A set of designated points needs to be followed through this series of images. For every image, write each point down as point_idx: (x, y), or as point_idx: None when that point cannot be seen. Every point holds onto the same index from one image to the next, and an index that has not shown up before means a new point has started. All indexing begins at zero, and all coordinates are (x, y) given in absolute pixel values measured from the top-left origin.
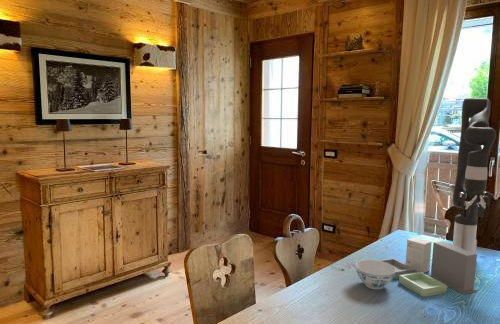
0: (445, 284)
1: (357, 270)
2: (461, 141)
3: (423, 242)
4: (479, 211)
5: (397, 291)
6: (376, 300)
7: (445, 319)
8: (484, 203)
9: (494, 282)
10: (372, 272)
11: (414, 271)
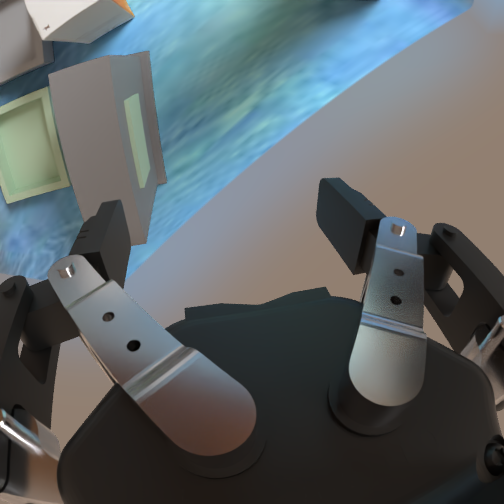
0: (68, 181)
1: None
2: None
3: (53, 13)
4: (342, 219)
5: None
6: None
7: (27, 277)
8: (438, 268)
9: (279, 137)
10: None
11: (44, 63)
